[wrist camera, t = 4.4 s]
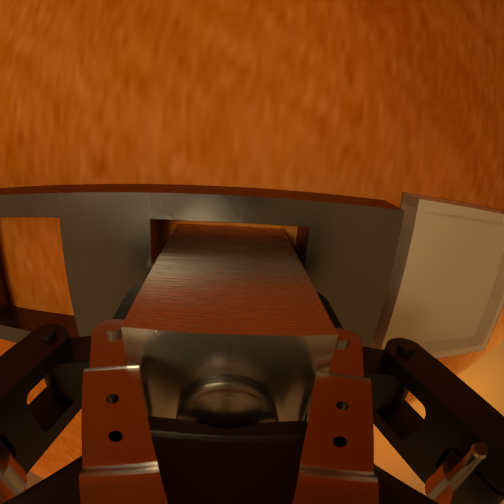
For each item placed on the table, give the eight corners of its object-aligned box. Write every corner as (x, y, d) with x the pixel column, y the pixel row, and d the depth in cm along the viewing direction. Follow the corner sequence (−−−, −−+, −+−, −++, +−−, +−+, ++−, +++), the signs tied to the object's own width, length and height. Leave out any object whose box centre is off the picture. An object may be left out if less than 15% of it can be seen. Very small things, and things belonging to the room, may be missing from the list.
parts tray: (403, 192, 14) (419, 198, 12) (512, 213, 14) (528, 219, 13) (365, 350, 17) (374, 366, 15) (473, 338, 18) (484, 349, 16)
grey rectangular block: (177, 223, 14) (109, 349, 5) (283, 228, 14) (349, 358, 6) (179, 314, 15) (144, 470, 7) (272, 318, 16) (306, 474, 7)
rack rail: (-49, 192, 12) (-70, 200, 10) (383, 200, 14) (404, 210, 12) (-25, 311, 15) (-40, 326, 13) (352, 343, 17) (364, 366, 15)
